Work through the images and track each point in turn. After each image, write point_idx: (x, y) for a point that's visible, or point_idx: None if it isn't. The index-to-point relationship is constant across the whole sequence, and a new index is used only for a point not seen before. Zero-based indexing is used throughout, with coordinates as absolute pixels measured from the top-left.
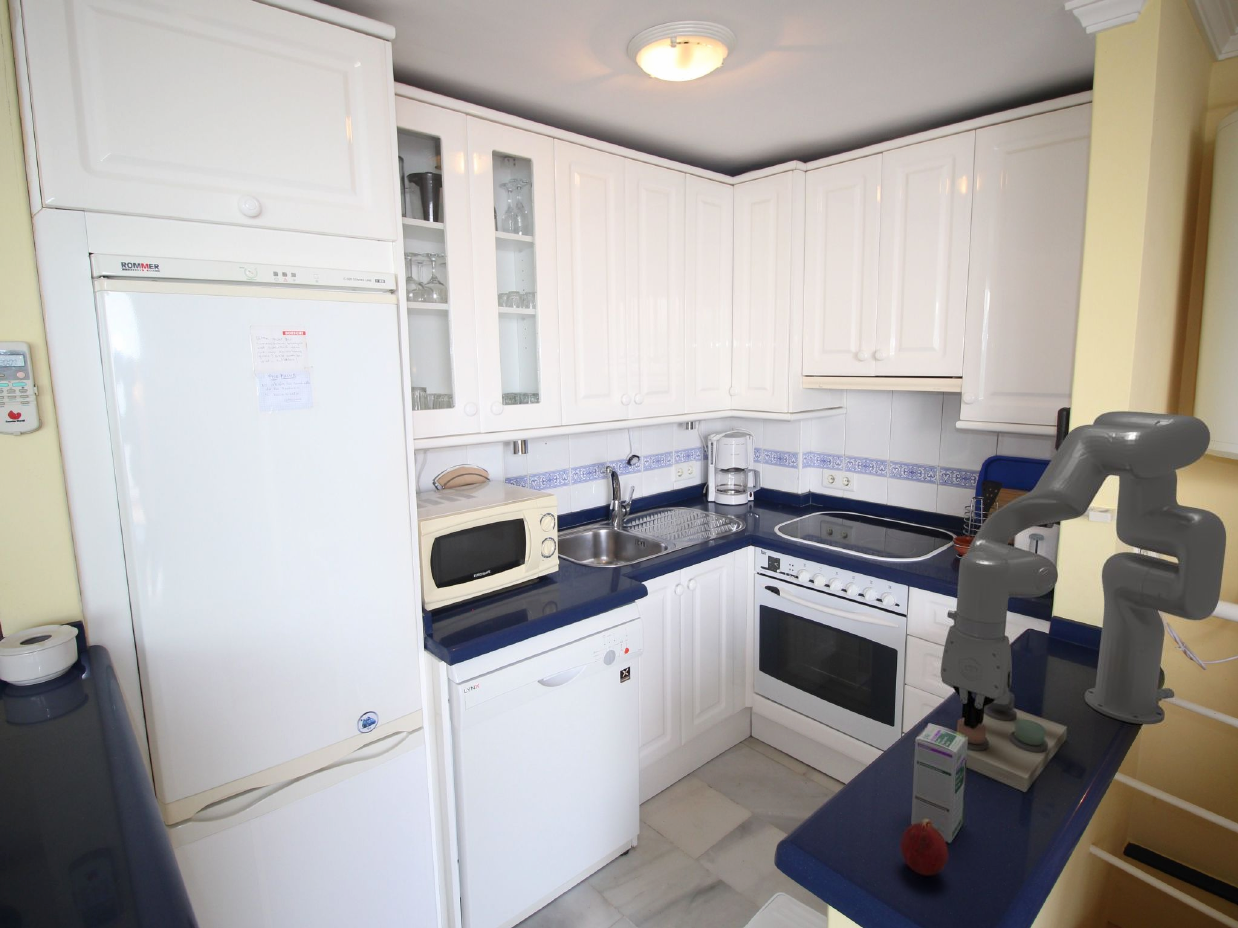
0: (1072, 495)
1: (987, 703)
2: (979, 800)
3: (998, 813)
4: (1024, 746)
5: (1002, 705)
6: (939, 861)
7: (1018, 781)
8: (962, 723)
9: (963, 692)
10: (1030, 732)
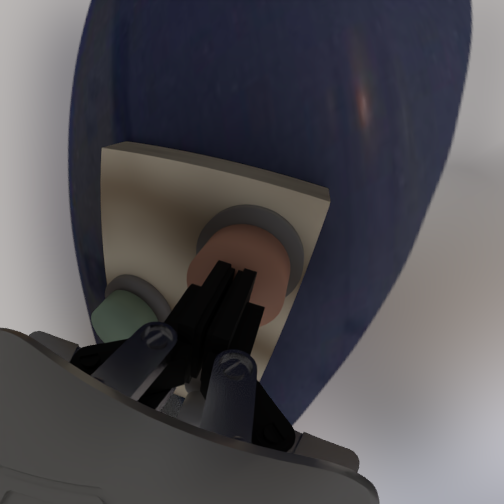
0: None
1: (114, 346)
2: (205, 32)
3: (163, 18)
4: (131, 281)
5: (197, 400)
6: None
7: (127, 146)
8: (265, 285)
9: (226, 407)
10: (104, 309)
